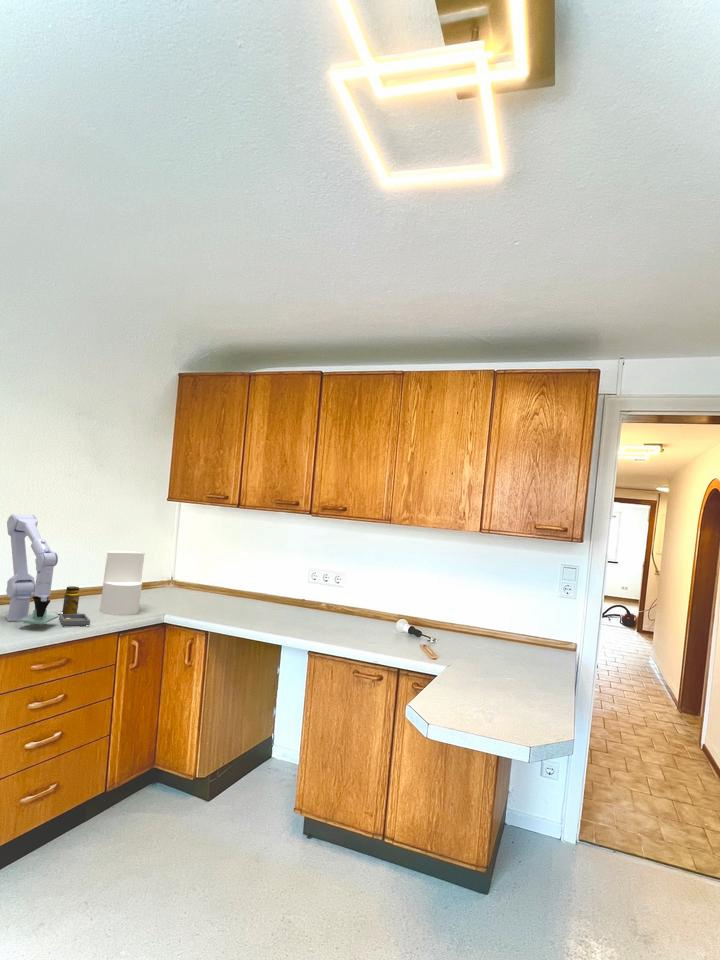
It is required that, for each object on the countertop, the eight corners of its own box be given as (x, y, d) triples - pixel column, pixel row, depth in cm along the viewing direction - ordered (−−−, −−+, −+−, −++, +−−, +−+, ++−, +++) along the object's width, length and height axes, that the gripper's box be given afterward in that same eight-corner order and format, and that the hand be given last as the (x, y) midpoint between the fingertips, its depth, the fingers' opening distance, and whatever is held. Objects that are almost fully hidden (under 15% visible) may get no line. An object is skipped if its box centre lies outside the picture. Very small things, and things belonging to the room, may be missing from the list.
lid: (33, 616, 233) (34, 606, 233) (58, 618, 234) (59, 608, 234) (18, 623, 221) (19, 612, 221) (44, 625, 222) (45, 614, 222)
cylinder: (94, 607, 270) (102, 550, 271) (130, 606, 282) (137, 550, 283) (107, 616, 257) (115, 555, 258) (144, 614, 269) (151, 555, 270)
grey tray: (58, 620, 241) (59, 614, 241) (84, 619, 247) (85, 613, 247) (63, 627, 231) (63, 621, 231) (89, 626, 237) (90, 620, 237)
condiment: (79, 614, 254) (83, 588, 254) (59, 616, 248) (63, 589, 248) (74, 611, 259) (78, 585, 260) (54, 612, 253) (58, 585, 254)
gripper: (30, 578, 232) (26, 611, 231) (34, 585, 220) (29, 620, 219) (49, 579, 236) (45, 611, 235) (54, 585, 224) (50, 619, 223)
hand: (39, 615), depth 228 cm, fingers closed on lid, 4 cm apart
